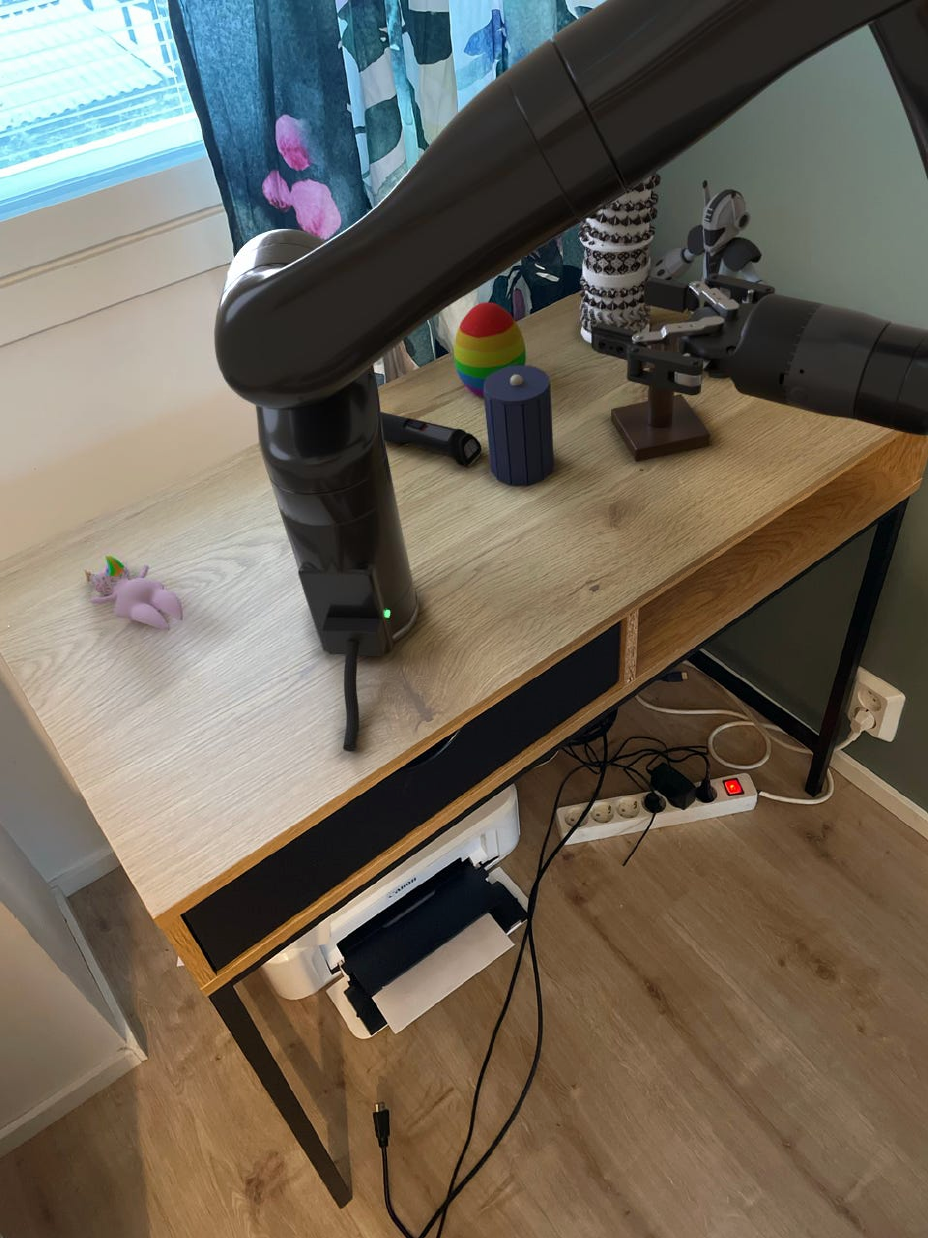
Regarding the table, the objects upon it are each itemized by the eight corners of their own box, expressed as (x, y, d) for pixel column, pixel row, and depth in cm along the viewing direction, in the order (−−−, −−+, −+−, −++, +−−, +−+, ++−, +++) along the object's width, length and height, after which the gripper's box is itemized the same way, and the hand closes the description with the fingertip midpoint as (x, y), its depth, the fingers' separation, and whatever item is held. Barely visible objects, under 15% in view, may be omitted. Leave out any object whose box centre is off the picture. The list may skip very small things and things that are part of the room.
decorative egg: (535, 395, 103) (531, 313, 96) (466, 410, 102) (457, 329, 95) (516, 360, 109) (511, 281, 101) (451, 374, 108) (441, 295, 101)
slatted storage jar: (551, 485, 91) (547, 393, 83) (488, 485, 92) (478, 394, 84) (555, 448, 95) (551, 357, 88) (495, 449, 96) (487, 358, 89)
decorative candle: (667, 335, 109) (682, 109, 91) (599, 356, 107) (600, 130, 89) (630, 305, 115) (637, 88, 97) (565, 324, 113) (560, 107, 96)
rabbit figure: (81, 604, 88) (153, 659, 78) (51, 556, 84) (121, 606, 74) (136, 570, 91) (211, 618, 81) (109, 521, 87) (184, 566, 77)
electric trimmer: (369, 420, 103) (364, 396, 101) (484, 450, 96) (481, 425, 94) (350, 438, 101) (344, 414, 99) (466, 470, 94) (462, 445, 92)
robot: (789, 386, 99) (822, 199, 85) (757, 402, 97) (786, 215, 83) (666, 324, 111) (677, 151, 97) (636, 338, 109) (642, 165, 95)
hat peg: (709, 445, 93) (721, 339, 84) (635, 461, 92) (639, 356, 84) (680, 405, 98) (688, 302, 90) (610, 420, 98) (612, 317, 89)
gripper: (858, 268, 68) (663, 232, 75) (779, 356, 60) (573, 307, 68) (839, 357, 73) (659, 316, 81) (764, 449, 66) (575, 393, 73)
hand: (620, 312), depth 74 cm, fingers open, 8 cm apart
